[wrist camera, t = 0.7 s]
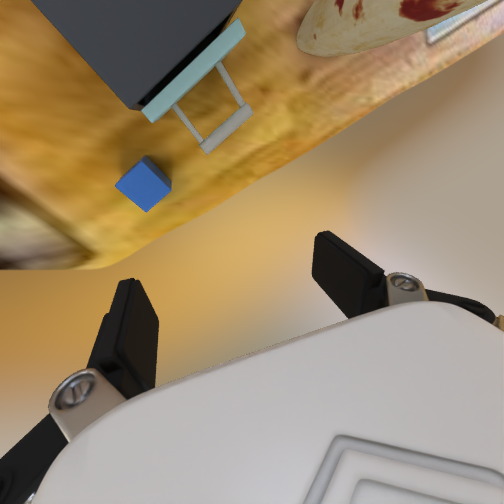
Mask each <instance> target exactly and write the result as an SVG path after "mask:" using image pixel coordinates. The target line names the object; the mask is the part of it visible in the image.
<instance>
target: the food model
mask: <svg viewBox="0 0 504 504" xmlns="http://www.w3.org/2000/svg"><path fill="white" fill-rule="evenodd" d="M485 1H487V0H316V1H315V2H314V3H313V5H312V6H311V8H310V9H309V10H308V12H307V13H306V15H305V17H304V20H303V22H302V24H301V26H300V28H299V31H298V33H297V36H296V41H297V47H298V48H299V49H300V50H301V51H303V52H305V53H308V54H311V55H316V56H326V57H332V56H337V55H345V54H355V53H358V52H361V51H365V50H368V49H372V48H375V47H378V46H382V45H385V44H387V43H390V42H393V41H395V40H398V39H400V38H403V37H405V36H408V35H411V34H414V33H416V32H419V31H422V30H424V29H427V28H429V27H432V26H434V25H436V24H438V23H440V22H442V21H444V20H446V19H448V18H450V17H453V16H455V15H457V14H460V13H462V12H464V11H467V10H469V9H471V8H473V7H475V6H477V5H479V4H481V3H483V2H485Z"/></svg>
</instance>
